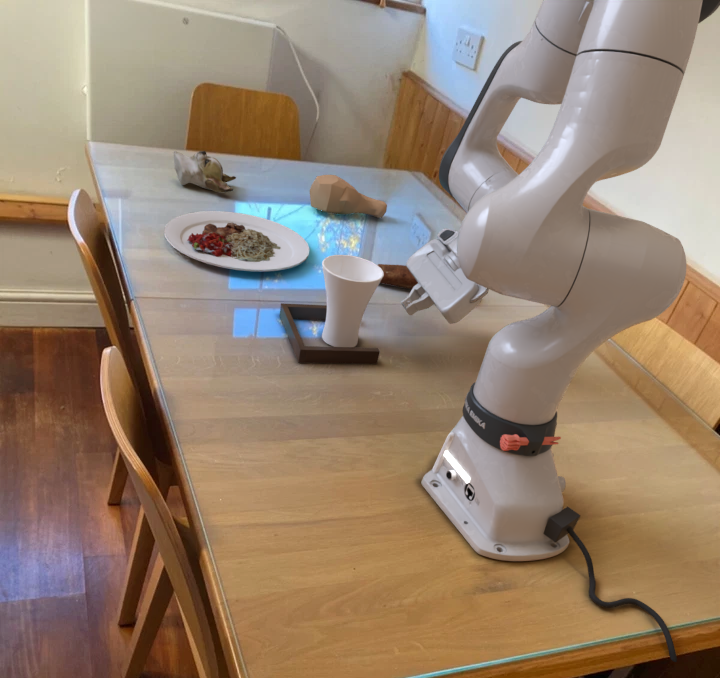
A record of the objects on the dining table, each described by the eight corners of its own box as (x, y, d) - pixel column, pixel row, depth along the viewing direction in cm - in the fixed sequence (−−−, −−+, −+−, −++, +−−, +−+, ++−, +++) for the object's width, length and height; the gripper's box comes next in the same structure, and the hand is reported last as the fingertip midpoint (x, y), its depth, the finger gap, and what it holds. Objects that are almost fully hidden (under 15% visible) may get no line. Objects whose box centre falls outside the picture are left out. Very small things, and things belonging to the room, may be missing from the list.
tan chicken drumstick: (300, 203, 177) (309, 165, 173) (373, 221, 184) (383, 186, 180) (309, 211, 168) (318, 172, 164) (385, 230, 175) (396, 193, 171)
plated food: (333, 253, 155) (335, 238, 153) (256, 293, 133) (258, 276, 131) (222, 209, 163) (223, 195, 161) (132, 240, 140) (132, 223, 138)
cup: (322, 355, 119) (335, 281, 111) (302, 325, 126) (313, 253, 118) (377, 353, 123) (394, 282, 115) (355, 324, 131) (369, 255, 122)
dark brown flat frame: (377, 364, 121) (380, 351, 119) (298, 362, 116) (300, 349, 114) (351, 318, 132) (354, 306, 131) (279, 315, 128) (280, 303, 126)
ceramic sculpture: (177, 137, 169) (239, 152, 172) (174, 174, 174) (234, 188, 177) (171, 150, 161) (236, 166, 164) (168, 188, 166) (231, 202, 169)
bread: (459, 303, 147) (466, 278, 144) (370, 286, 145) (375, 260, 142) (456, 290, 152) (463, 266, 149) (370, 273, 150) (375, 248, 147)
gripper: (502, 300, 116) (433, 350, 119) (455, 250, 131) (396, 295, 134) (486, 273, 112) (416, 326, 115) (440, 224, 127) (379, 272, 130)
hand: (405, 309), depth 124 cm, fingers closed
